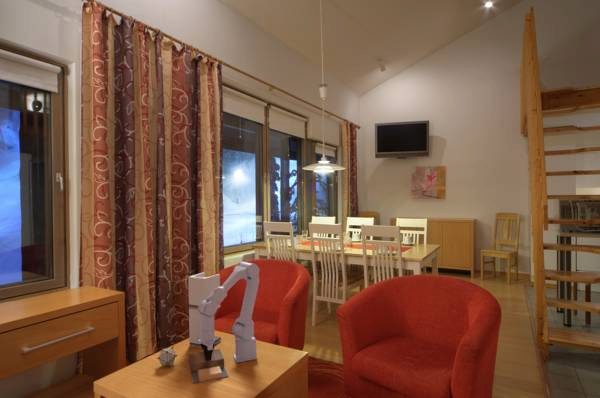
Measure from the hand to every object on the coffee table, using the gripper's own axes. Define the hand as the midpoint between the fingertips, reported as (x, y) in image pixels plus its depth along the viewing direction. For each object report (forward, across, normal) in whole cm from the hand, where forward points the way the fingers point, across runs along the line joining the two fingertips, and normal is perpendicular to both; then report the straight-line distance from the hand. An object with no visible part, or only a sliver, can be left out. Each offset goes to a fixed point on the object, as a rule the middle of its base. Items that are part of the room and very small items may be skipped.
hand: (208, 360), depth 158 cm
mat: (+5, +4, 0) cm, 6 cm away
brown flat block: (+5, -6, 0) cm, 8 cm away
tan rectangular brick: (+3, +5, 0) cm, 5 cm away
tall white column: (+5, -31, +3) cm, 32 cm away
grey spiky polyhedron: (+5, -13, -16) cm, 21 cm away
